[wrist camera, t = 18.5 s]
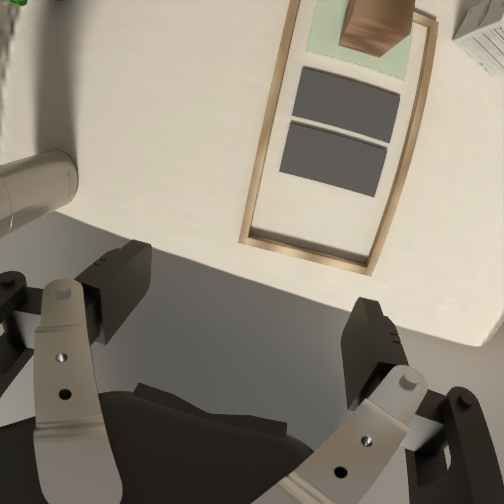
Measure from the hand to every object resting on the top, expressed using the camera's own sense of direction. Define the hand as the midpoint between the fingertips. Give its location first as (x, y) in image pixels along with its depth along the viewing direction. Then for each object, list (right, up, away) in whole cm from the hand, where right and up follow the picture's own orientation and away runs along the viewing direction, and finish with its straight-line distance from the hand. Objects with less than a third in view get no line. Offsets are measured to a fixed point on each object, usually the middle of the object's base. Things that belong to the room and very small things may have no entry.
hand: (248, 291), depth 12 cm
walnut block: (+13, +27, +17) cm, 34 cm away
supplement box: (+30, +29, +13) cm, 44 cm away
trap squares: (+11, +16, +22) cm, 30 cm away
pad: (+13, +27, +17) cm, 34 cm away
